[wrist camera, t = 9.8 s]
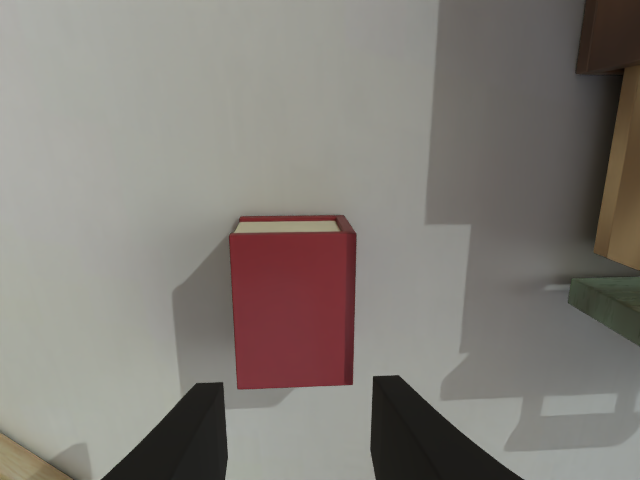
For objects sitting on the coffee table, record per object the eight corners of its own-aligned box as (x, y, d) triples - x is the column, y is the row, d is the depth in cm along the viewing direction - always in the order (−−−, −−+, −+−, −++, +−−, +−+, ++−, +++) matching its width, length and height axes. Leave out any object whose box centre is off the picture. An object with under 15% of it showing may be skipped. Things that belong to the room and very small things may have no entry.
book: (342, 342, 19) (353, 385, 16) (246, 345, 19) (237, 390, 16) (344, 215, 18) (356, 233, 14) (240, 216, 17) (228, 235, 14)
